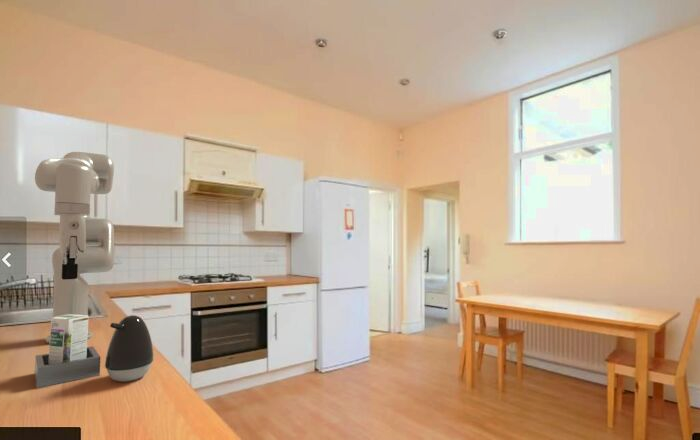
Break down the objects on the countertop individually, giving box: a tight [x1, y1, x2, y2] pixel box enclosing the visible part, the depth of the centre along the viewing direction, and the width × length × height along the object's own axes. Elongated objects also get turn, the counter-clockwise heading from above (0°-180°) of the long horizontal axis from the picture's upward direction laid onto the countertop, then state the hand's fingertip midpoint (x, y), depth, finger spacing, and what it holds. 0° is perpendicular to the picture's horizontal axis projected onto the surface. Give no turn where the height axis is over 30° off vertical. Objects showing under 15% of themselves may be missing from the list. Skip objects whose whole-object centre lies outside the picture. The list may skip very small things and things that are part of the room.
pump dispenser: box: [104, 315, 154, 383], centre depth 90 cm, size 10×10×15 cm
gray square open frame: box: [34, 346, 101, 389], centre depth 91 cm, size 12×12×4 cm
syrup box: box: [48, 314, 90, 365], centre depth 92 cm, size 6×6×14 cm
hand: (69, 278), depth 97 cm, fingers closed
